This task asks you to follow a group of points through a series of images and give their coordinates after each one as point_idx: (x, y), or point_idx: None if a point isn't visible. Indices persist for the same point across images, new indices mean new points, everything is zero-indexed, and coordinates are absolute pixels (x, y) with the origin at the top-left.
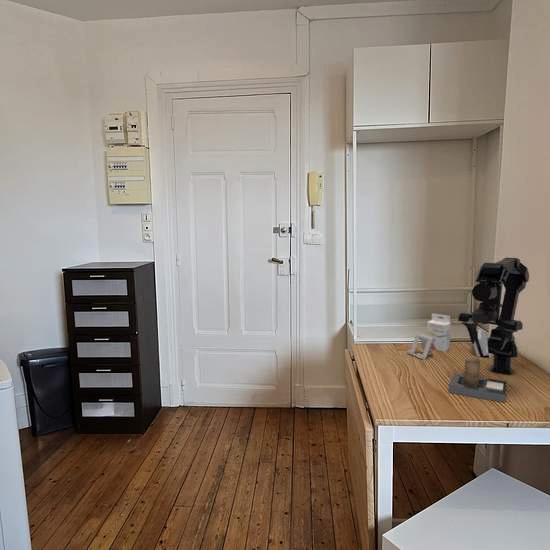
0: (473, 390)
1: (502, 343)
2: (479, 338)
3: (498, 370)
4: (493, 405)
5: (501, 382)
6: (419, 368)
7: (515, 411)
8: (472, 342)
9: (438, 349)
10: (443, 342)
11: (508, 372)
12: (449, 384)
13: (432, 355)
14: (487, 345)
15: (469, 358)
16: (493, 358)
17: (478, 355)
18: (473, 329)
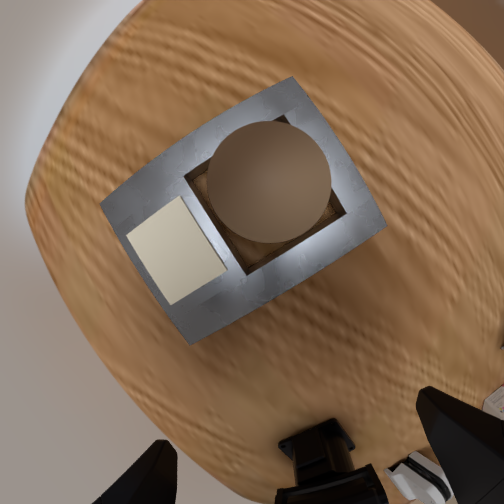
0: (200, 129)
1: (127, 478)
2: (432, 490)
3: (312, 431)
4: (123, 147)
5: (191, 318)
6: (488, 215)
7: (70, 178)
8: (428, 392)
9: (498, 390)
10: (501, 409)
11: (286, 444)
12: (296, 83)
13: (502, 347)
14: (411, 491)
15: (315, 199)
16: (349, 459)
17: (413, 455)
18: (489, 487)
